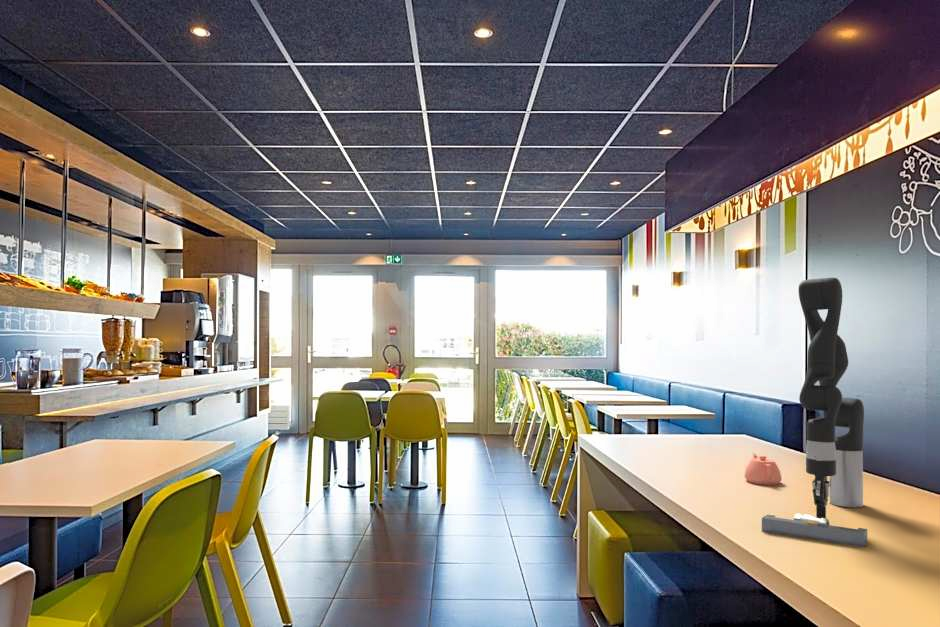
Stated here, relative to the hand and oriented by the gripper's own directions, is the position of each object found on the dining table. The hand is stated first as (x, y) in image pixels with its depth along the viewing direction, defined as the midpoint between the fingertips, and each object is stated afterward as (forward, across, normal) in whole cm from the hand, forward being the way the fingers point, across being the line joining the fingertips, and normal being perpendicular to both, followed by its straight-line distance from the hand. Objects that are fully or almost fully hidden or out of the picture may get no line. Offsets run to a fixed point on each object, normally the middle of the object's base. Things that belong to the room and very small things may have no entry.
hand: (821, 519), depth 192 cm
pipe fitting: (+2, +6, -1) cm, 6 cm away
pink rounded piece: (+1, -52, -26) cm, 58 cm away
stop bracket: (+1, +14, 0) cm, 14 cm away
